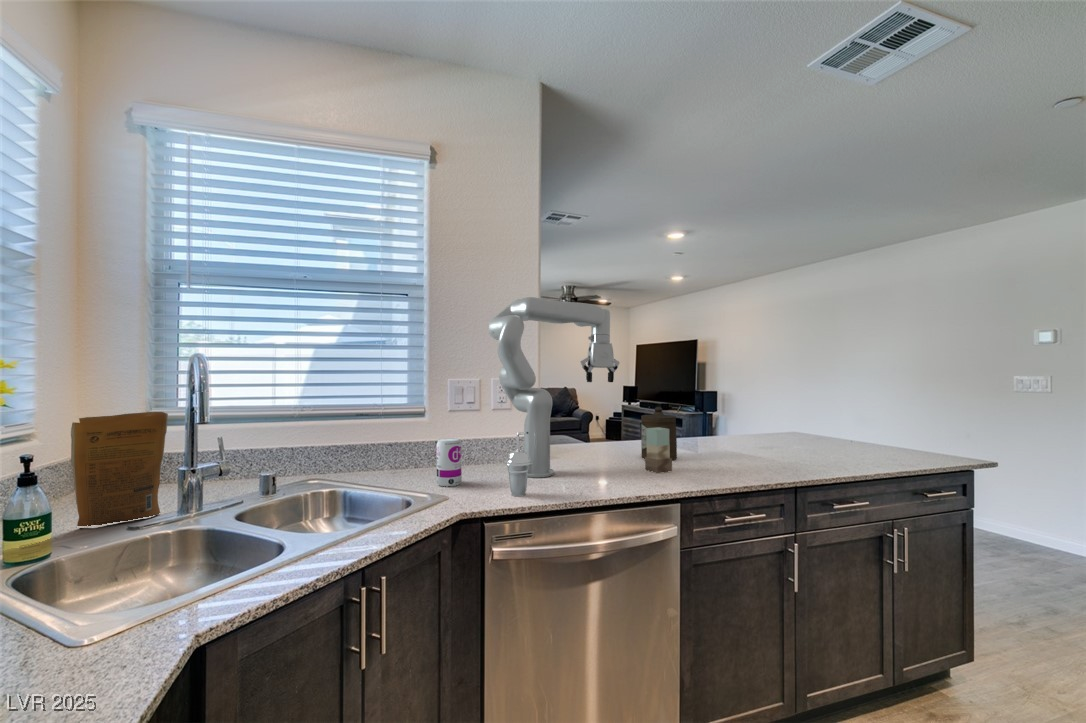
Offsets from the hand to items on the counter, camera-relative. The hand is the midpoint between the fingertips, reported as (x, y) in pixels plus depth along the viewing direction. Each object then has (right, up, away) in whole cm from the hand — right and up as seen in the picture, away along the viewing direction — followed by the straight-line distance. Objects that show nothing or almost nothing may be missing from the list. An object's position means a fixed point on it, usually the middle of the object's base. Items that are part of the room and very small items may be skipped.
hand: (600, 382), depth 197 cm
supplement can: (-55, -33, -32) cm, 72 cm away
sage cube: (+21, -23, -12) cm, 33 cm away
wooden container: (+27, -34, +13) cm, 45 cm away
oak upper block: (+21, -28, -12) cm, 37 cm away
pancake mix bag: (-131, -33, -72) cm, 153 cm away
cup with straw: (-31, -33, -46) cm, 64 cm away
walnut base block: (+21, -33, -12) cm, 41 cm away
